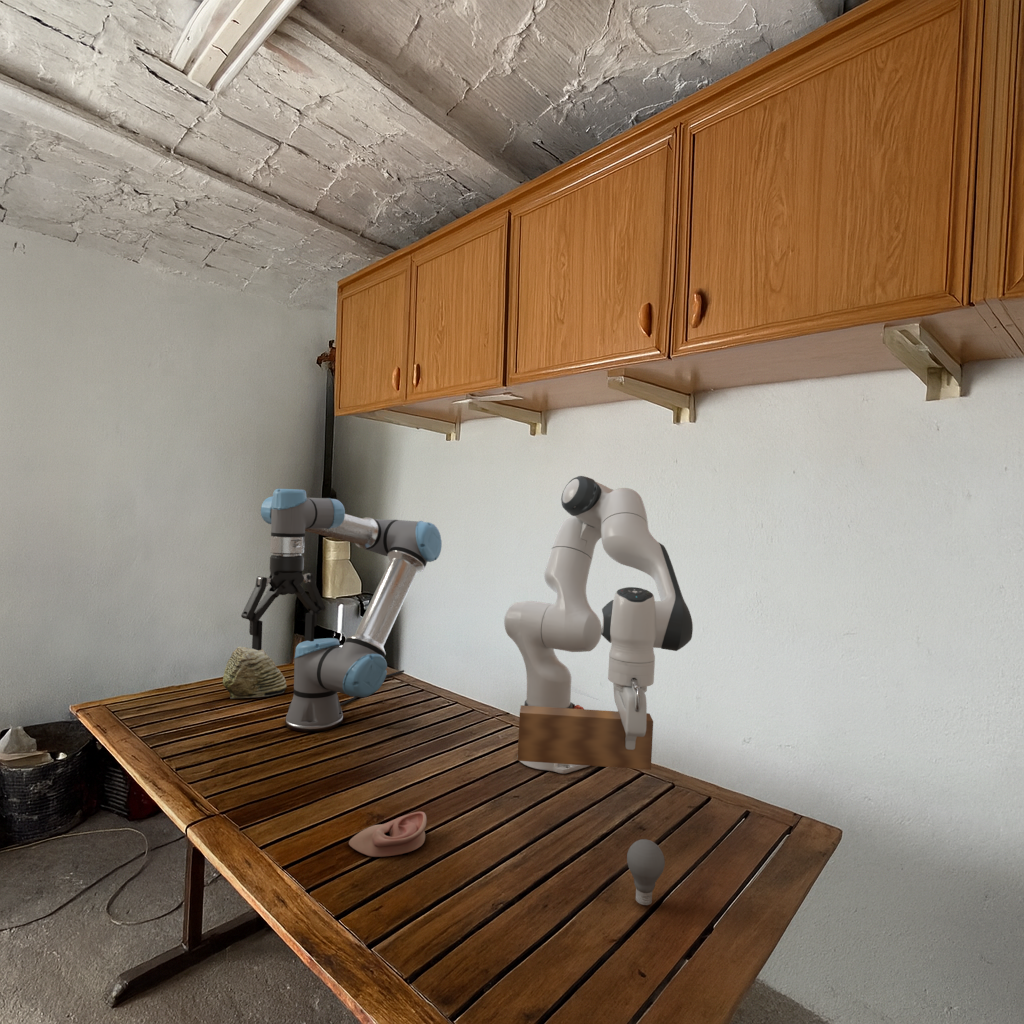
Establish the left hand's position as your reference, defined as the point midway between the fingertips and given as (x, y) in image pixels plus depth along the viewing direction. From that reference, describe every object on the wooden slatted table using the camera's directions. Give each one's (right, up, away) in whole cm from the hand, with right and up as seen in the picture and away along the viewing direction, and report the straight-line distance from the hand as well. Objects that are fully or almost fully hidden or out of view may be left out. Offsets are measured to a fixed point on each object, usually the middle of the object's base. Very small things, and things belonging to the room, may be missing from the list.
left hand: (283, 644), depth 149 cm
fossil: (-27, -26, +49) cm, 62 cm away
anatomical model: (+31, -30, -31) cm, 53 cm away
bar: (+68, -18, -24) cm, 74 cm away
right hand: (+76, -14, -25) cm, 81 cm away
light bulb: (+75, -32, -46) cm, 94 cm away
